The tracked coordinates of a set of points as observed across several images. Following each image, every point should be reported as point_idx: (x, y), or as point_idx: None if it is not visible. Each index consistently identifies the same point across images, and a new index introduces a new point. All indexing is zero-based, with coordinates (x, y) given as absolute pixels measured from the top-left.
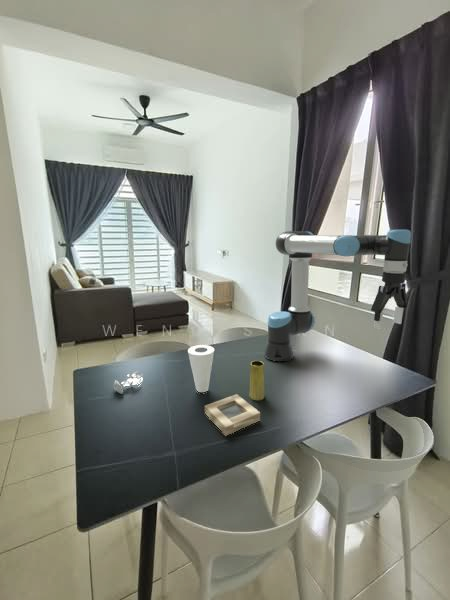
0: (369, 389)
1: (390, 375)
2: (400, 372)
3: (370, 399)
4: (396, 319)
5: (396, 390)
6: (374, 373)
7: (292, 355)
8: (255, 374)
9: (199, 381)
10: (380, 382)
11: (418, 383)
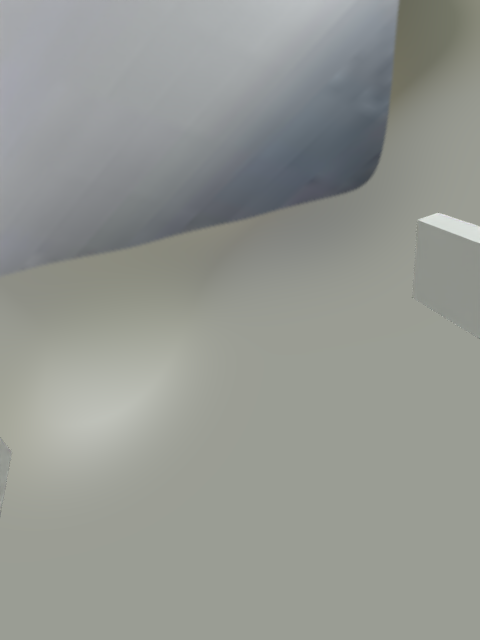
0: (75, 153)
1: (287, 66)
2: (355, 59)
3: (20, 232)
4: (453, 268)
5: (195, 199)
6: (229, 4)
7: None
8: None
9: None
10: (182, 111)
11: (326, 177)
